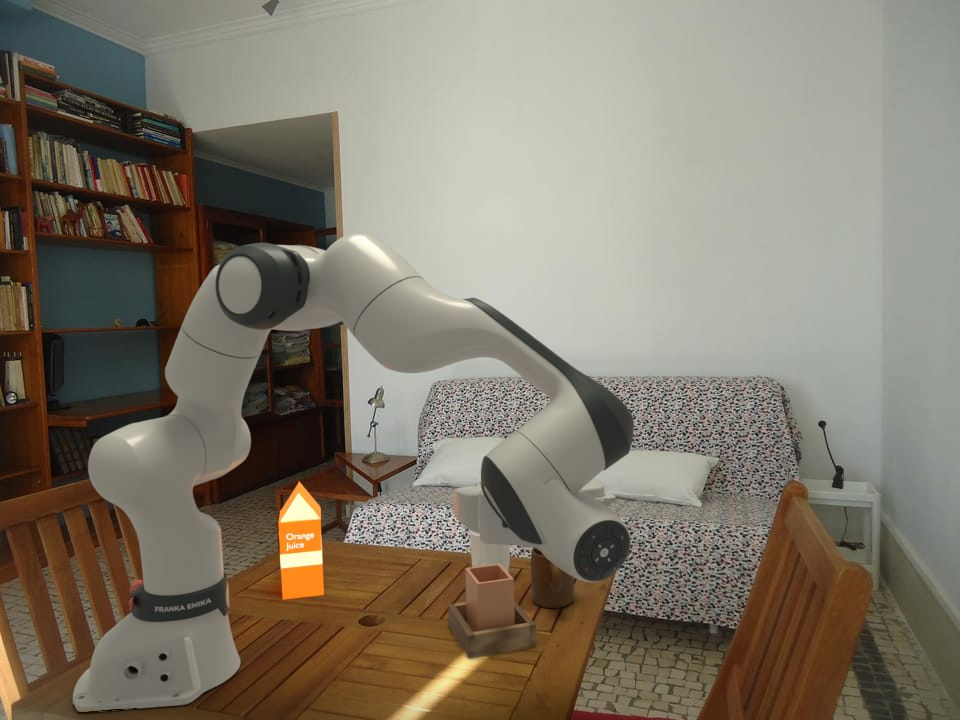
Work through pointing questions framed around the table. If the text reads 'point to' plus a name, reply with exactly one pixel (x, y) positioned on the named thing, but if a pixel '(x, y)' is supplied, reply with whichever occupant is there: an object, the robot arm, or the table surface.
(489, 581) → the pink square pot
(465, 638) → the large crate
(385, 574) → the table surface
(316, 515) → the orange juice
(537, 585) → the mug
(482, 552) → the white cup
